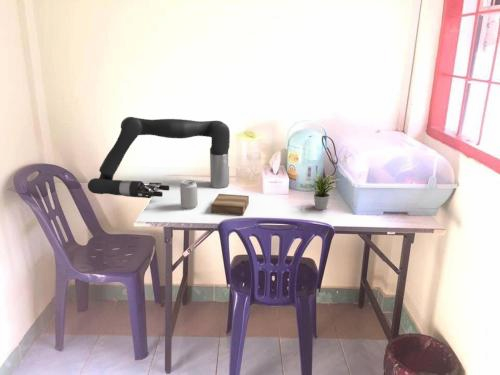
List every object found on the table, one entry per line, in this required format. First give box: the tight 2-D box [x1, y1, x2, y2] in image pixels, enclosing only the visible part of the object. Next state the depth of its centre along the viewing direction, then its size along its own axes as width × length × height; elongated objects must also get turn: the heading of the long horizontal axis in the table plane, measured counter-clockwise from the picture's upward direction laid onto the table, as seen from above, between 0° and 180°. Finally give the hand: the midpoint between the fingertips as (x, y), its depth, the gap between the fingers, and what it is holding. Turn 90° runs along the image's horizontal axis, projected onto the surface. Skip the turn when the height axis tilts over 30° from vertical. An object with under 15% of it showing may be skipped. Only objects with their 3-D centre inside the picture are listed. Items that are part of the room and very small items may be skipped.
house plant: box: [308, 172, 340, 211], centre depth 194 cm, size 14×14×16 cm
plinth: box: [210, 193, 250, 216], centre depth 195 cm, size 14×14×4 cm
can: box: [179, 179, 199, 210], centre depth 195 cm, size 8×8×12 cm
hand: (165, 191), depth 196 cm, fingers open, 8 cm apart
